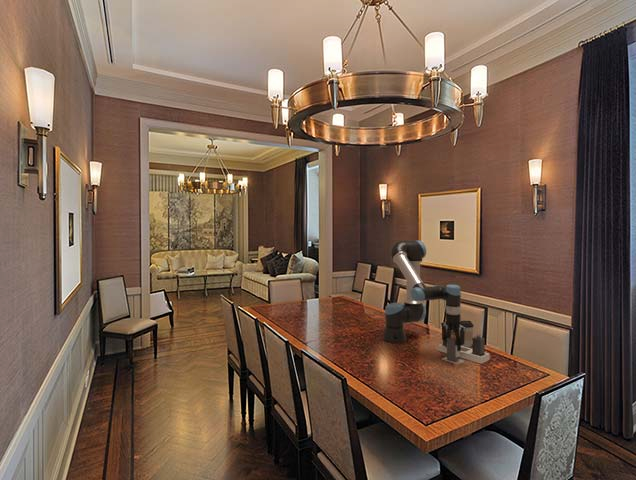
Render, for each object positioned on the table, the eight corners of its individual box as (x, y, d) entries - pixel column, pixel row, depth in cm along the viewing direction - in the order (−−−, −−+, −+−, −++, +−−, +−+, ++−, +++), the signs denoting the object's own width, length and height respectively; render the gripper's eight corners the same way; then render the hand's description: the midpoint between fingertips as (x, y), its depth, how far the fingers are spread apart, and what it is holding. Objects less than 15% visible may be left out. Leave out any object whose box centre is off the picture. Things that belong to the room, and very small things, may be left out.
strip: (438, 351, 207) (438, 326, 206) (446, 348, 213) (446, 323, 212) (481, 365, 187) (481, 337, 186) (489, 360, 193) (489, 333, 192)
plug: (446, 359, 194) (447, 334, 193) (451, 357, 196) (451, 332, 196) (454, 362, 190) (454, 336, 189) (458, 360, 193) (459, 334, 192)
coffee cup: (464, 348, 212) (464, 324, 211) (454, 343, 220) (454, 320, 220) (476, 347, 214) (477, 322, 214) (466, 342, 223) (467, 319, 222)
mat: (441, 359, 195) (441, 359, 195) (448, 356, 199) (448, 355, 199) (458, 365, 187) (458, 364, 187) (464, 361, 192) (464, 361, 192)
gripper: (434, 311, 197) (434, 352, 198) (464, 317, 183) (464, 361, 184) (442, 309, 201) (442, 349, 202) (472, 315, 188) (471, 358, 189)
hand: (452, 355), depth 193 cm, fingers closed on plug, 4 cm apart
